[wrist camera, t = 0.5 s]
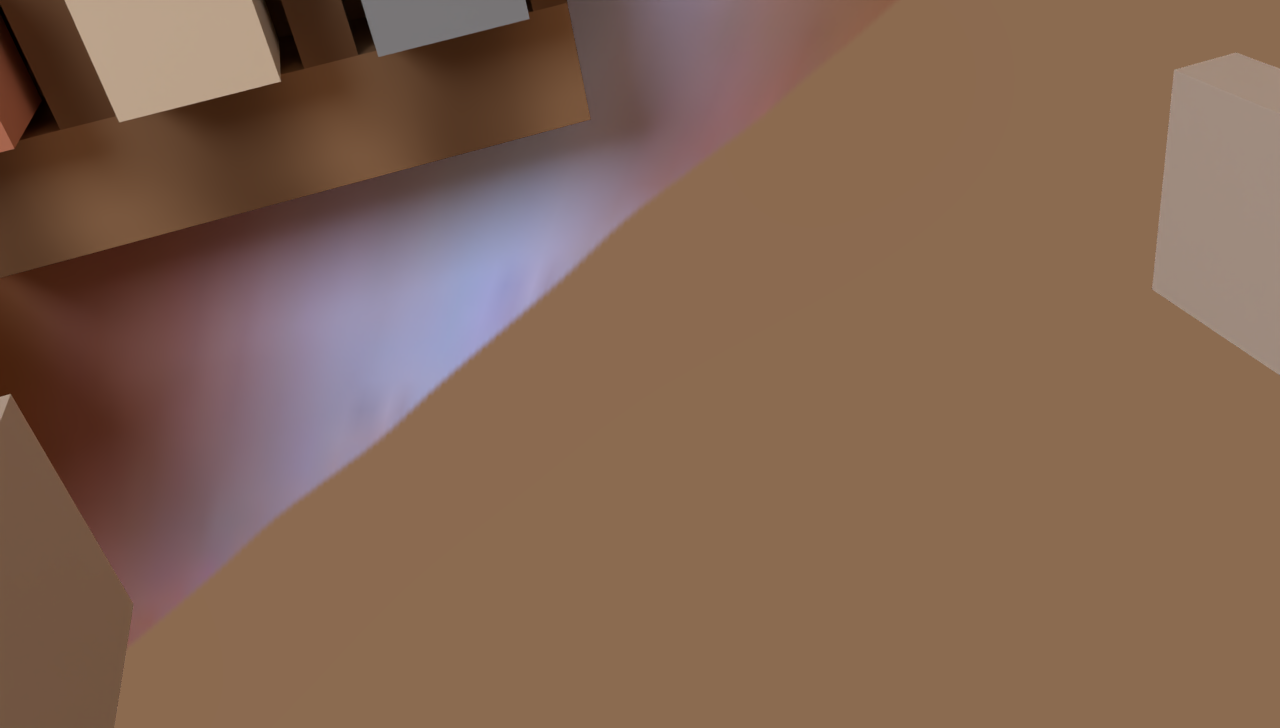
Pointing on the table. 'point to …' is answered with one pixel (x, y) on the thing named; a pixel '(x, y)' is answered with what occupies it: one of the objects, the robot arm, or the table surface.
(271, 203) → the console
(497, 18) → the slate key
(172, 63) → the ivory key
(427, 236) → the table surface
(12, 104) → the brick key
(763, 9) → the table surface
